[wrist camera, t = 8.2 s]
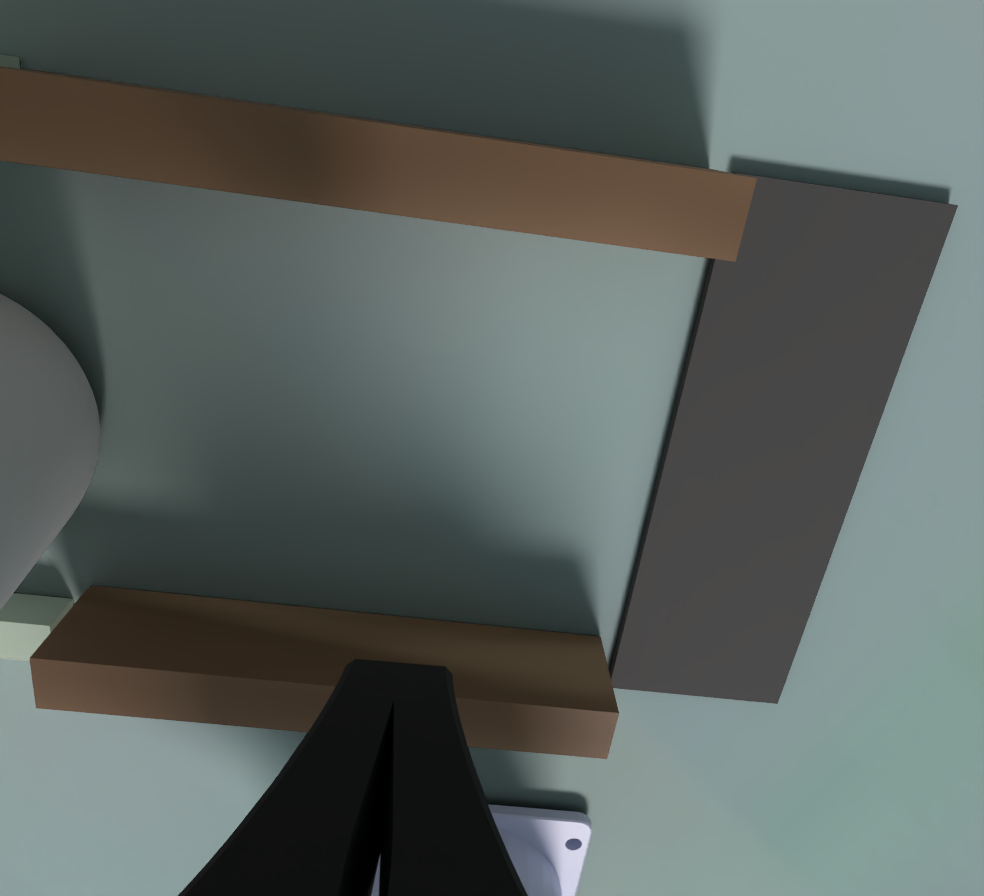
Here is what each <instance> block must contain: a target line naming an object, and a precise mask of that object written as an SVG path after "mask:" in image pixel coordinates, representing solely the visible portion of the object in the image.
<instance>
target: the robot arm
mask: <svg viewBox="0 0 984 896" xmlns="http://www.w3.org/2000/svg"><path fill="white" fill-rule="evenodd" d="M591 834H592V826H591V820H590V819H589V817H588V816H587V815H585V814H584V813H580V812H573V811H561V810H549V809H538V808H526V807H514V806H502V805H490V804H488V803H487V800H486V798H485V795H484V792H483V789H482V787H481V784H480V781H479V778H478V775H477V773H476V770H475V767H474V764H473V761H472V758H471V755H470V752H469V749H468V746H467V742H466V739H465V735H464V731H463V728H462V724H461V720H460V716H459V712H458V708H457V703H456V698H455V692H454V686H453V674H452V673H451V672H450V671H449V670H448V669H447V668H446V666H435V665H424V664H412V663H400V662H388V661H376V660H364V659H354V660H353V661H351V662H350V663H348V664H347V665H346V666H345V669H344V671H343V673H342V675H341V677H340V679H339V681H338V683H337V685H336V687H335V689H334V691H333V692H332V694H331V696H330V698H329V699H328V701H327V703H326V704H325V706H324V708H323V709H322V711H321V713H320V714H319V716H318V717H317V719H316V720H315V722H314V724H313V725H312V727H311V728H310V730H309V732H308V733H307V735H306V736H305V737H304V739H303V740H302V742H301V743H300V745H299V746H298V747H297V749H296V750H295V752H294V753H293V755H292V756H291V757H290V759H289V760H288V762H287V763H286V765H285V766H284V767H283V769H282V770H281V772H280V773H279V775H278V776H277V777H276V779H275V780H274V781H273V783H272V784H271V785H270V787H269V788H268V789H267V791H266V792H265V793H264V794H263V796H262V797H261V798H260V799H259V801H258V802H257V803H256V804H255V806H254V807H253V808H252V810H251V811H250V812H249V813H248V815H247V816H246V817H245V818H244V820H243V821H242V822H241V823H240V825H239V826H238V827H237V829H236V830H235V831H234V832H233V834H232V835H231V836H230V837H229V838H228V840H227V841H226V842H225V843H224V844H223V846H222V847H221V848H220V849H219V850H218V851H217V853H216V854H215V855H214V856H213V857H212V858H211V860H210V861H209V862H208V863H207V864H206V865H205V866H204V868H203V869H202V870H201V871H200V872H199V873H198V874H197V876H196V877H195V878H194V879H193V880H192V881H191V882H190V883H189V884H188V885H187V886H186V888H185V889H184V890H183V891H182V892H181V893H180V894H179V895H178V896H576V892H577V888H578V884H579V880H580V877H581V873H582V869H583V865H584V861H585V857H586V854H587V850H588V846H589V842H590V838H591ZM573 838H576V839H573Z"/></svg>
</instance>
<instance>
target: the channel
mask: <svg viewBox="0 0 984 896" xmlns="http://www.w3.org/2000/svg"><path fill="white" fill-rule="evenodd" d="M0 160H1V161H8V162H15V163H22V164H30V165H37V166H44V167H51V168H59V169H66V170H73V171H80V172H88V173H95V174H102V175H110V176H117V177H124V178H131V179H139V180H146V181H153V182H160V183H168V184H175V185H182V186H189V187H197V188H204V189H211V190H218V191H226V192H233V193H240V194H247V195H255V196H262V197H269V198H276V199H284V200H291V201H298V202H305V203H313V204H320V205H327V206H335V207H342V208H349V209H356V210H364V211H371V212H378V213H385V214H393V215H400V216H407V217H414V218H422V219H429V220H436V221H443V222H451V223H458V224H465V225H472V226H480V227H487V228H494V229H501V230H509V231H516V232H523V233H530V234H538V235H545V236H552V237H559V238H567V239H574V240H581V241H589V242H596V243H603V244H610V245H618V246H625V247H632V248H639V249H647V250H654V251H661V252H668V253H676V254H683V255H690V256H697V257H705V258H712V259H719V260H726V261H734V262H736V258H737V254H738V250H739V247H740V243H741V239H742V235H743V231H744V227H745V223H746V220H747V216H748V212H749V208H750V204H751V200H752V196H753V192H754V189H755V185H756V181H757V178H754V177H749V176H744V175H738V174H733V173H728V172H723V171H718V170H713V169H707V168H700V167H693V166H686V165H680V164H673V163H666V162H659V161H652V160H645V159H639V158H632V157H625V156H618V155H611V154H604V153H598V152H591V151H584V150H577V149H570V148H563V147H557V146H550V145H543V144H536V143H529V142H522V141H516V140H509V139H502V138H495V137H488V136H481V135H475V134H468V133H461V132H454V131H447V130H440V129H434V128H427V127H420V126H413V125H406V124H399V123H393V122H386V121H379V120H372V119H365V118H358V117H351V116H345V115H338V114H331V113H324V112H317V111H310V110H304V109H297V108H290V107H283V106H276V105H269V104H263V103H256V102H249V101H242V100H235V99H228V98H222V97H215V96H208V95H201V94H194V93H187V92H181V91H174V90H167V89H160V88H153V87H146V86H140V85H133V84H126V83H119V82H112V81H105V80H99V79H92V78H85V77H78V76H71V75H64V74H58V73H51V72H44V71H35V70H27V69H19V68H10V67H2V66H0ZM354 659H364V660H376V661H388V662H400V663H412V664H424V665H435V666H446V668H447V669H448V670H449V671H450V672H451V673H452V674H453V686H454V692H455V698H456V703H457V708H458V712H459V716H460V720H461V724H462V728H463V731H464V735H465V739H466V742H467V746H468V747H479V748H490V749H501V750H512V751H524V752H535V753H546V754H557V755H568V756H580V757H591V758H602V759H607V757H608V753H609V750H610V746H611V742H612V738H613V734H614V730H615V726H616V722H617V719H618V715H619V711H618V707H617V703H616V699H615V695H614V691H613V686H612V682H611V678H610V674H609V670H608V666H607V662H606V657H605V653H604V649H603V645H602V641H601V637H599V636H589V635H579V634H569V633H559V632H549V631H539V630H529V629H519V628H510V627H500V626H490V625H480V624H470V623H460V622H450V621H440V620H430V619H420V618H410V617H400V616H390V615H380V614H370V613H361V612H351V611H341V610H331V609H321V608H311V607H301V606H291V605H281V604H271V603H261V602H251V601H241V600H231V599H221V598H212V597H202V596H192V595H182V594H172V593H162V592H152V591H142V590H132V589H122V588H112V587H102V586H92V585H90V586H89V588H88V589H87V590H86V591H85V592H84V594H83V595H82V596H81V597H80V598H79V599H78V601H77V602H76V603H75V604H74V605H73V607H72V608H71V609H70V610H69V611H68V613H67V614H66V615H65V616H64V617H63V619H62V620H61V621H60V622H59V623H58V625H57V626H56V627H55V628H54V629H53V631H52V632H51V633H50V634H49V635H48V637H47V638H46V639H45V640H44V641H43V642H42V644H41V645H40V646H39V647H38V648H37V650H36V651H35V652H34V653H33V654H32V656H31V657H30V665H31V673H32V680H33V688H34V696H35V703H36V708H42V709H53V710H64V711H75V712H86V713H98V714H109V715H120V716H131V717H142V718H154V719H165V720H176V721H187V722H198V723H210V724H221V725H232V726H243V727H255V728H266V729H277V730H288V731H299V732H309V730H310V728H311V727H312V725H313V724H314V722H315V720H316V719H317V717H318V716H319V714H320V713H321V711H322V709H323V708H324V706H325V704H326V703H327V701H328V699H329V698H330V696H331V694H332V692H333V691H334V689H335V687H336V685H337V683H338V681H339V679H340V677H341V675H342V673H343V671H344V669H345V666H346V665H347V664H348V663H350V662H351V661H353V660H354Z"/></svg>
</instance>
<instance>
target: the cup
mask: <svg viewBox="0 0 984 896" xmlns="http://www.w3.org/2000/svg"><path fill="white" fill-rule="evenodd" d="M99 450H100V420H99V414H98V408H97V405H96V401H95V398H94V394H93V391H92V389H91V387H90V384H89V382H88V380H87V378H86V376H85V374H84V372H83V370H82V368H81V367H80V365H79V363H78V362H77V360H76V358H75V357H74V356H73V354H72V353H71V352H70V350H69V349H68V348H67V346H66V345H65V344H64V342H63V341H62V340H61V339H60V338H59V337H58V336H57V335H56V334H55V333H54V332H53V331H52V330H51V329H50V328H49V327H48V326H47V325H46V324H45V323H43V322H42V321H41V320H40V319H39V318H38V317H36V316H35V315H34V314H32V313H31V312H30V311H28V310H27V309H25V308H24V307H23V306H21V305H19V304H18V303H16V302H14V301H13V300H11V299H9V298H8V297H6V296H4V295H2V294H0V610H1V609H2V608H3V606H4V605H5V604H6V602H7V601H8V600H9V598H10V597H11V596H12V594H13V593H14V592H15V590H16V589H17V588H18V586H19V585H20V584H21V582H22V581H23V580H24V579H25V577H26V576H27V575H28V573H29V572H30V571H31V569H32V568H33V567H34V565H35V564H36V563H37V561H38V560H39V559H40V557H41V556H42V555H43V553H44V552H45V551H46V549H47V548H48V547H49V545H50V544H51V543H52V541H53V540H54V539H55V537H56V536H57V535H58V534H59V532H60V531H61V530H62V528H63V527H64V526H65V524H66V523H67V521H68V520H69V519H70V517H71V516H72V514H73V513H74V511H75V510H76V509H77V507H78V505H79V504H80V502H81V500H82V498H83V497H84V495H85V493H86V491H87V489H88V487H89V485H90V483H91V480H92V478H93V475H94V472H95V469H96V465H97V461H98V456H99Z"/></svg>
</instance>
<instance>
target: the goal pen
mask: <svg viewBox="0 0 984 896" xmlns="http://www.w3.org/2000/svg"><path fill="white" fill-rule="evenodd" d="M0 66H2V67H10V68H19V69H20V63H19V57H15V56H8V55H1V54H0ZM72 607H73V599H69V598H59V597H49V596H39V595H29V594H19V593H13V594H12V596H11V597H10V598H9V600H8V601H7V602H6V604H5V605H4V606H3V608H2V609H1V610H0V658H2V659H13V660H23V661H30V657H31V656H32V654H33V653H34V652H35V651H36V650H37V648H38V647H39V646H40V645H41V644H42V642H43V641H44V640H45V639H46V638H47V637H48V635H49V634H50V633H51V632H52V631H53V629H54V628H55V627H56V626H57V625H58V623H59V622H60V621H61V620H62V619H63V617H64V616H65V615H66V614H67V613H68V611H69V610H70V609H71V608H72Z"/></svg>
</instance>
